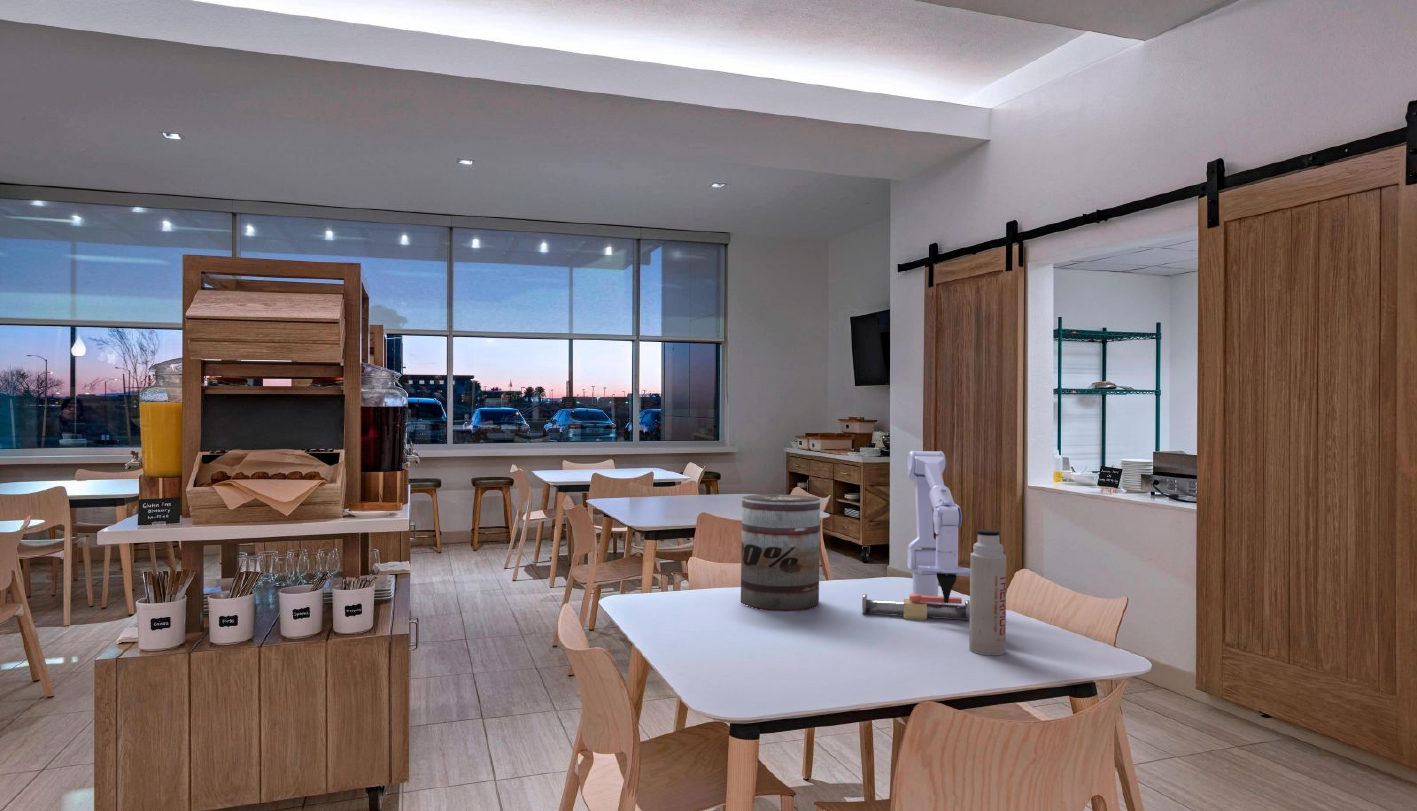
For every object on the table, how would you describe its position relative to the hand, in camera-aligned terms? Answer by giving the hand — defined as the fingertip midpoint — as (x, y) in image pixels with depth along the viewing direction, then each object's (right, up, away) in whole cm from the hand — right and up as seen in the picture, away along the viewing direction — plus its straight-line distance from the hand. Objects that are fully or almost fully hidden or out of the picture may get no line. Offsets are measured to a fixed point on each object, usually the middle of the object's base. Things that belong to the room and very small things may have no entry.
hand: (946, 602), depth 229 cm
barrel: (-43, -5, +19) cm, 47 cm away
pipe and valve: (-7, -5, +4) cm, 10 cm away
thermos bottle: (+2, -5, -29) cm, 29 cm away
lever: (-2, 0, +3) cm, 4 cm away
